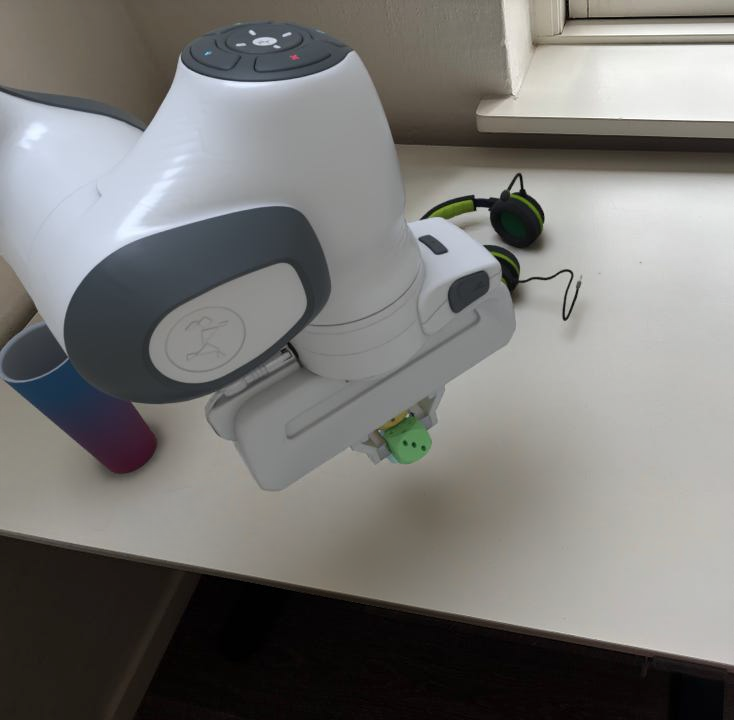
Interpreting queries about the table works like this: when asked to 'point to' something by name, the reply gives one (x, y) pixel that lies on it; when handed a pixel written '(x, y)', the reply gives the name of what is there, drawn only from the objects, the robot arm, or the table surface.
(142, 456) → the cup
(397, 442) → the dice
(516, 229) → the headphones
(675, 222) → the table surface
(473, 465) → the table surface
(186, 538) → the table surface
